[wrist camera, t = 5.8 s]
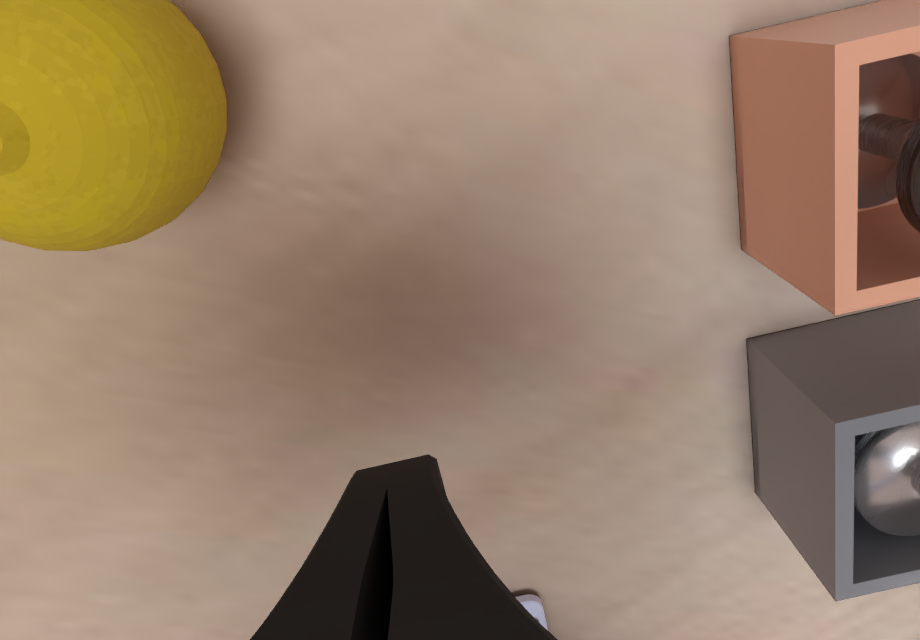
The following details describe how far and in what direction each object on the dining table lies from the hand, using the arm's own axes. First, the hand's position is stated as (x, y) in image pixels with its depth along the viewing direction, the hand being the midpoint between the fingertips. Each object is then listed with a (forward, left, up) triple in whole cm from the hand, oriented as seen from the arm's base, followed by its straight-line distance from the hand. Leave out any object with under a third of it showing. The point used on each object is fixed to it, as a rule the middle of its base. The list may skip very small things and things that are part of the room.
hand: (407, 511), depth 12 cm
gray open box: (-7, -13, -10) cm, 18 cm away
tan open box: (+2, -13, -10) cm, 16 cm away
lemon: (+7, +5, -10) cm, 13 cm away
